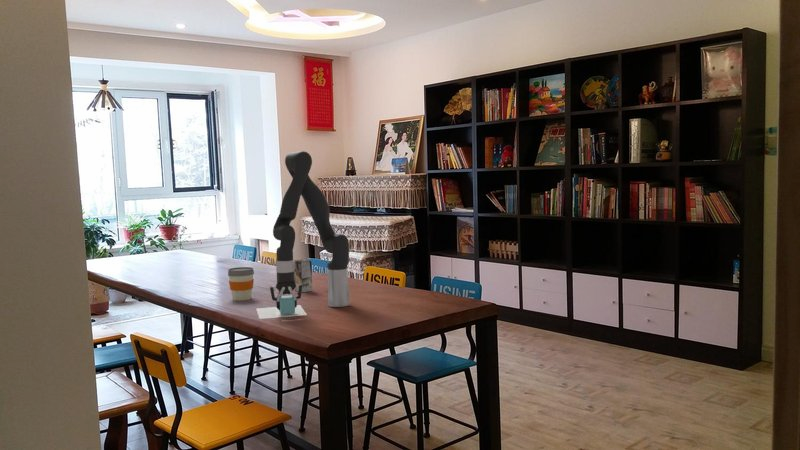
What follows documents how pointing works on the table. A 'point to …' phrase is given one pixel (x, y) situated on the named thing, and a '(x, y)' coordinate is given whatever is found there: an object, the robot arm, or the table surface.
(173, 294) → the table surface
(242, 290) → the reusable coffee cup
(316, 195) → the robot arm
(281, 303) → the card box
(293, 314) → the mat
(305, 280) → the coffee box
